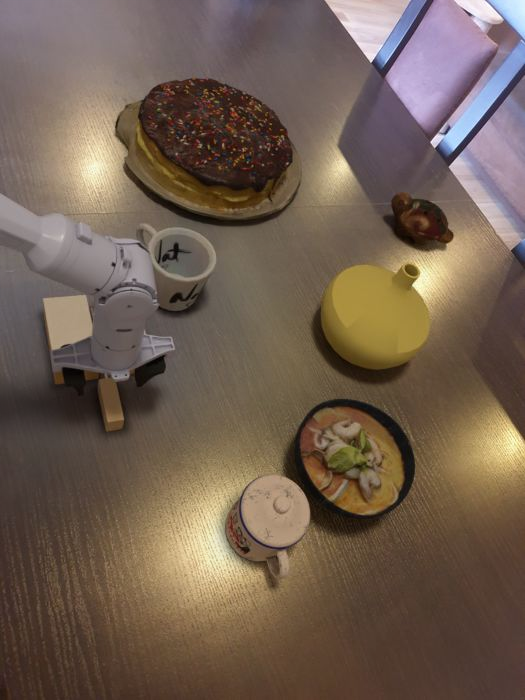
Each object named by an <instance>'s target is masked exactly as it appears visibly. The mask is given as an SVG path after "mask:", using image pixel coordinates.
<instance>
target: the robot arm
mask: <svg viewBox="0 0 525 700" xmlns="http://www.w3.org/2000/svg"><path fill="white" fill-rule="evenodd" d="M0 245H1V246H3V247H5V248H9V249H12V250H14V251H17V252H20V253H21V254H22V255H23V256H22V257H24V261H25V263H26V266H27V268H28V269H29V270H30V271H31V272H33V273H35V274H38V275H40V276H43V277H45V278H47V279H49V280H51V281H53V282H56V283H58V284H61V285H62V286H65V287H67V288H70V289H72V290H74V291H76V292H80V293H82V294H83V295H86V296H89V297H91V298H93V299H94V298H96V300H95V304H94V303H93V309H94V315H93V326H92V336H89V337H87V338H85V339H82V340H80V341H78V342H75V343H73V344H66V345H63V346H61V347H60V349H55V350H50V351H49V356H50V364H51V371H52V373H53V372H60V371H62V373H63V379H64V382H65V383H64V384H65V386H66V387H67V388H72V389H73V390H75V392H76V394H77V396H78V397H84V396H85V387H86V385H87V380H85V374H84V370H87V371H93V372H99V374H101V373H105V374H109V375H111V377H110V378H111V379H112V381H114V382H116V383H117V382H118V383H119V382H124V381H128V380H129V379H130V376H131V374H130V373H129V371H131V370H133V369H135V371H134V374H133V375H134V376H133V377H134V380H135V385H136V388H137V389H139V388H142V387H144V385H146V384H147V383H148V382H149V381H150V380H152V379H153V378H154V377H156V376H159V375H162V374H164V373H165V372H166V370H167V369H166V368H167V365H166V360H165V359H169V358H173V357H174V355H175V351H176V347H175V343H174V339H173V337H172V336H159V335H153V334H147V333H146V334H144V330H145V331H146V326H147V322H148V321H147V320H148V317H150V316H152V315H153V314H154V313H155V312H156V311H157V310H158V309H159V307H160V306H159V304H158V303H157V290H156V284H155V277H154V271H153V264H152V258H151V256H150V252H149V250H148V249H147V248H148V246H147V245H146V246H147V247H146V246H144V245H143V244H142V243H141V242H140V241H138V240H137V239H134V238H123V237H122V238H117V237H113V236H112V235H109V236H108V235H104V236H103V235H101V234H99V233H97V232H95V231H94V230H93V229H92V227H91V226H90V225H88V224H86V223H84V222H82V221H79V222H77V221H76V220H73V219H71V218H70V217H68V216H66V215H65V214H62V213H59V212H52V213H51V212H50V213H46V214H43V215H37V214H35V213H34V212H32V211H30V210H29V209H27V208H26V207H24V206H22V205H21V204H19V203H17V202H16V201H14V200H13V199H11V198H9V197H8V196H6V195H4V194H2V193H1V192H0Z"/></svg>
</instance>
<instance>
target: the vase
mask: <svg viewBox="0 0 525 700" xmlns="http://www.w3.org/2000/svg"><path fill="white" fill-rule="evenodd" d="M420 276H421V270H420V269H419V267H418V266H417V265H416V264H414V263H412V262H408V261H407V262H404V263H403V264H402V265H401V266H400V268H399V269H398V271H397V272H394V271H393V270H390V269H388V268H385V267H382V266H378V265H373V264H356V265H354V266H351V267H348V268H345V269H344V270H342V271H340V272H339V273H338V274H337V275H335V276H334V277H333V278H332V280H331V281H330V283H329V284H328V286H327V287H326V289H325V291H324V293H323V295H322V299H321V303H320V321H321V328H322V331H323V333H324V336H325V338H326V340H327V342H328V344H329V345H330V346H331V348H332V349H333V351H334V352H336V354H337V355H339V356H340V357H341V359H343V360H344V361H346V362H348V363H350V364H351V365H355V366H357V367H359V368H363V369H369V370H384V369H390V368H394V367H398V366H399V367H400V366H401V365H404V364H405V363H407V362H409V361H411V360H412V359H414V357H415V356H416V355H417V354H419V353H420V351H421V350H422V349H423V348H424V347H425V345H426V342H427V340H428V338H429V334H430V332H431V317H430V312H429V309H428V306H427V304H426V302H425V301H424V298H423V297H422V296H421V294H420V293H419V292H418V290H417V289H416V288H415V286H413V285H414V283H415V282H416V281H417V280H418V279H419V277H420Z"/></svg>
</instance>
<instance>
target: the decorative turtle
mask: <svg viewBox="0 0 525 700" xmlns="http://www.w3.org/2000/svg"><path fill="white" fill-rule="evenodd" d="M390 203H391V210H392V213H393V215H394V217H395V219H396V228H395V233H396V236H397V237H407V236H408V237H409V236H410V237H411V238H412V240H413V242H414V245H415V246H421V245H423V244H426V243H428V242H429V243H430V242H435V241H437V242H438V243H441V244H444V245H447V244H450V243H451V242H452V241H453V240H454V236H455V235H454V232H453V231H452V229H450V228H449V221H448V218H447V216H446V214H445V212H444V211H443V209H442V208H441V207H439V206H438V205H437V204H436V203H434V202H432V201H430V200H428V199H425V198H412V195H410V194H409V193H407V192H397V193H396V194H394V196H393V197H392V199H391V201H390Z"/></svg>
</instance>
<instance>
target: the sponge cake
mask: <svg viewBox="0 0 525 700" xmlns="http://www.w3.org/2000/svg"><path fill="white" fill-rule="evenodd" d="M95 300H96V298H93V305H94V304H95ZM42 308H43V321H44V326H45V332H46V339H47V345H48V350H49V352H50V350H55V349H60V347H61V346H63V345H66V344H73V343H75V342H78V341H80V340H82V339H85V338H87V337H89V336H92V326H93V325H92V321H91V316H90V307H89V302H88V297H87V295H86V294H79V295H67V296H54V297H43V298H42ZM93 310H94V308H93ZM144 334H147V332H146V329H145V330H144ZM134 371H135V369H133V370H131V371H129V373H130V375H134ZM84 374H85V380H86V381H91V380H99V379H100V373H99V372H93V371H87V370H84ZM52 375H53V381H54V384H55V385H62V384H65V382H64V379H63V373H62V371H60V372H53V371H52ZM107 375H108V378H111V375H109V374H107Z"/></svg>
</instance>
